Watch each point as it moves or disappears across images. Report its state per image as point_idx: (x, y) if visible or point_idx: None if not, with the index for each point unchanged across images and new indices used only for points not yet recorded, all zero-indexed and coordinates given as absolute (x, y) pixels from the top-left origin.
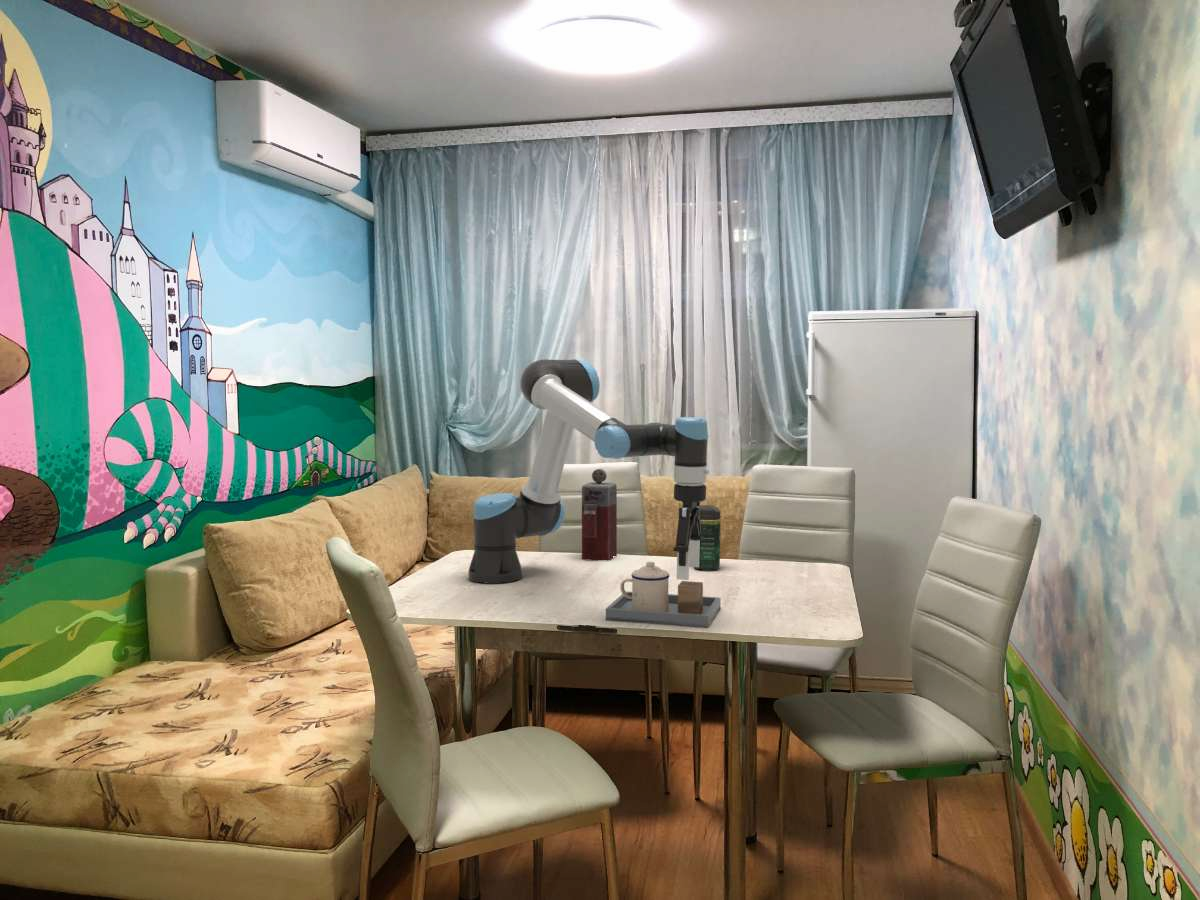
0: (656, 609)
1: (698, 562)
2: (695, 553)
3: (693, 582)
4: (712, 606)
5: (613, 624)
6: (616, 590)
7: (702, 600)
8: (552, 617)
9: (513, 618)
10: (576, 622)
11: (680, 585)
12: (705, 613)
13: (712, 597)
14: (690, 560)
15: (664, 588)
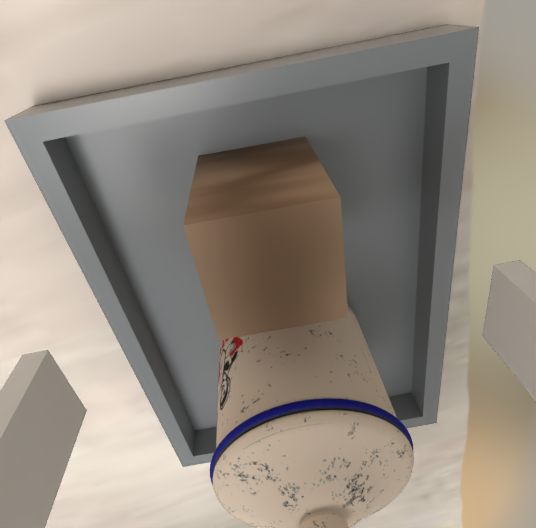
0: (349, 311)
1: (32, 383)
2: (6, 481)
3: (225, 274)
4: (244, 88)
5: (467, 359)
6: (75, 492)
7: (203, 174)
8: (428, 478)
9: (456, 516)
10: (464, 429)
11: (342, 307)
12: (233, 126)
13: (40, 166)
14: (58, 440)
15: (335, 360)
